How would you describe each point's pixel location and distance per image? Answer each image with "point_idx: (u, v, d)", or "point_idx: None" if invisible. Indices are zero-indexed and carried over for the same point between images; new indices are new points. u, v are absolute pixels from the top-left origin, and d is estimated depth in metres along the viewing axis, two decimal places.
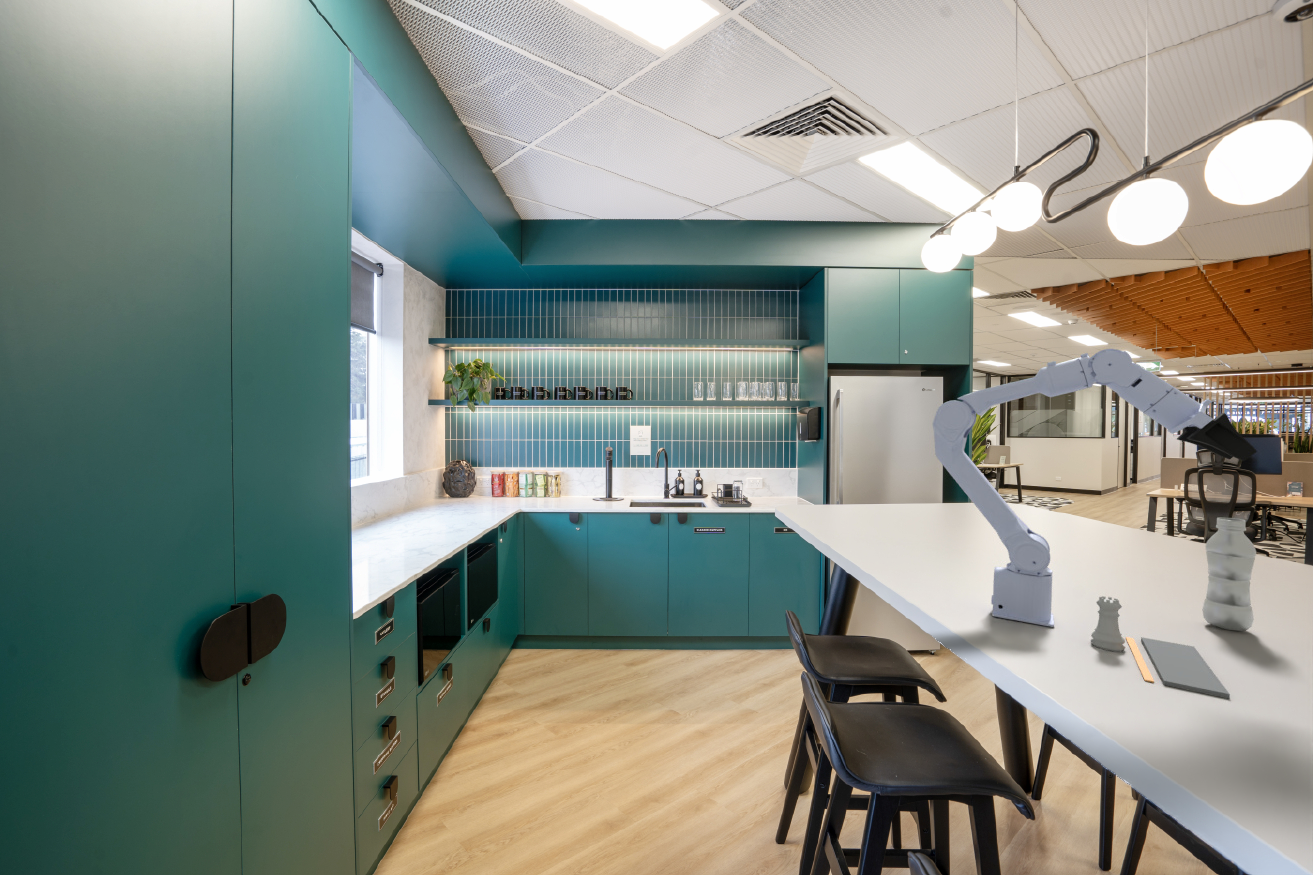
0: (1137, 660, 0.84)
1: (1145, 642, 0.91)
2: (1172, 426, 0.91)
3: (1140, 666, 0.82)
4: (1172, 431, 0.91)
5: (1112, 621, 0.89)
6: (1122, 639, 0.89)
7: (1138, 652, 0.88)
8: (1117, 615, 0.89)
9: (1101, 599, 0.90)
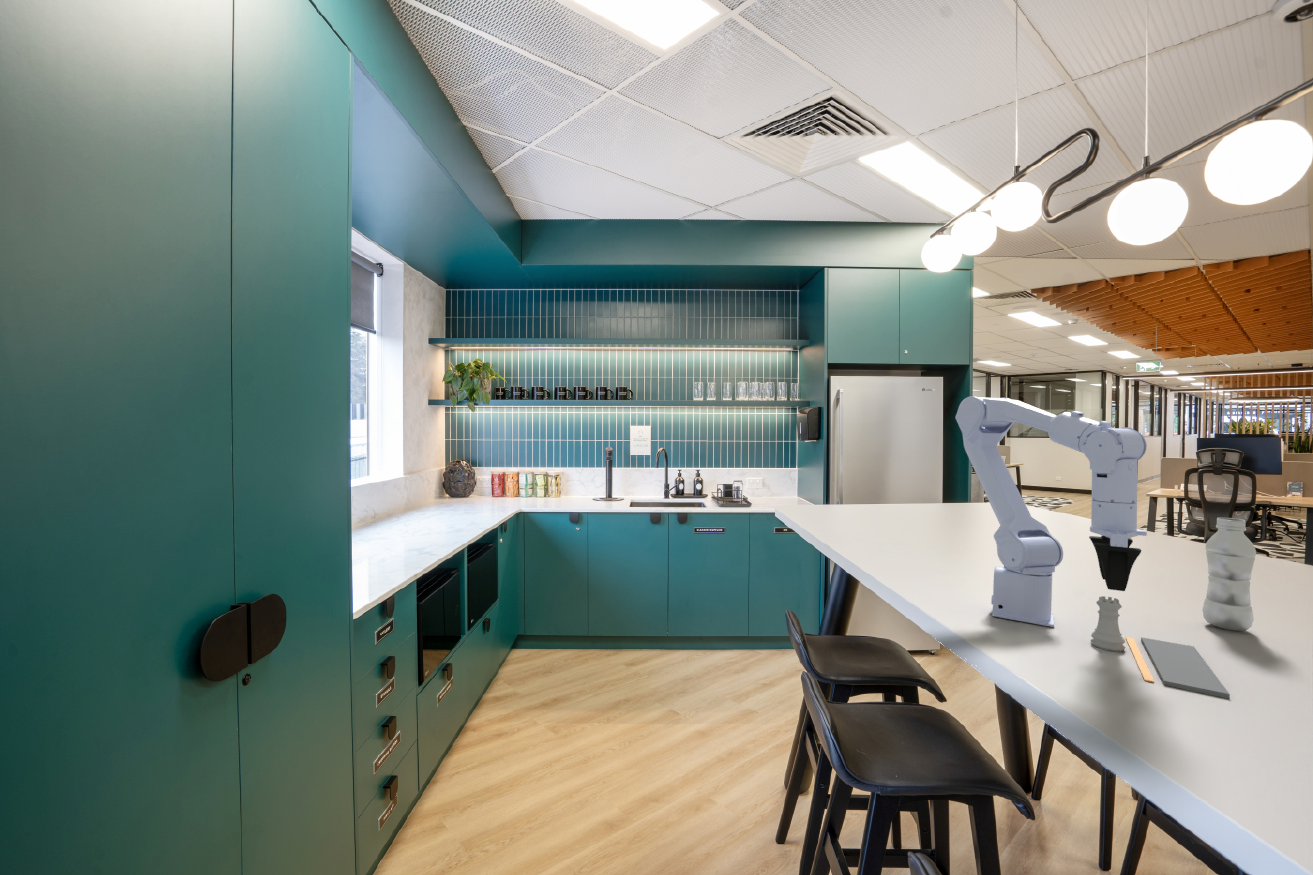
0: (1137, 660, 0.84)
1: (1145, 642, 0.91)
2: (1097, 526, 0.89)
3: (1140, 666, 0.82)
4: (1091, 529, 0.90)
5: (1112, 621, 0.89)
6: (1122, 639, 0.89)
7: (1138, 652, 0.88)
8: (1117, 615, 0.89)
9: (1101, 599, 0.90)
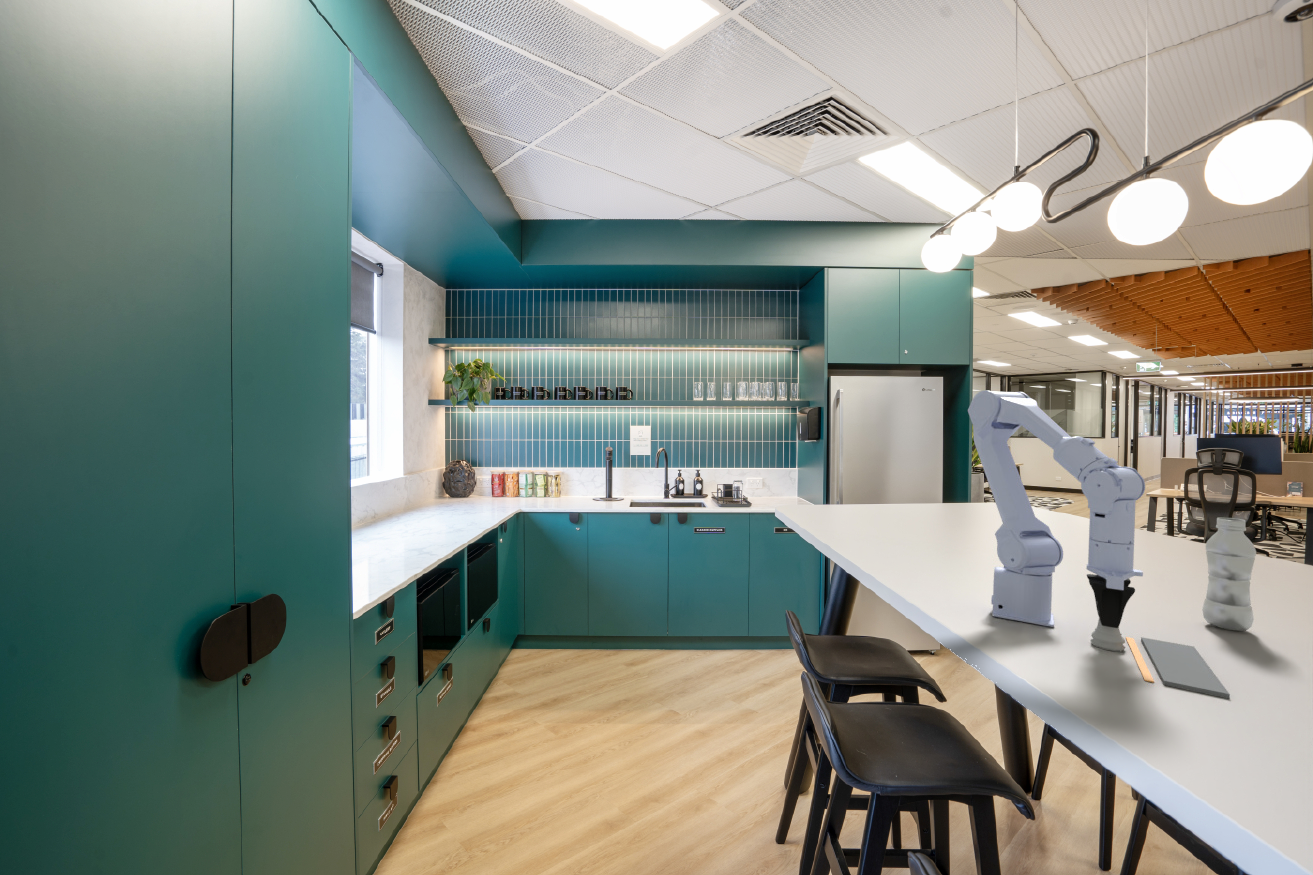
0: (1137, 660, 0.84)
1: (1145, 642, 0.91)
2: (1093, 565, 0.90)
3: (1140, 666, 0.82)
4: (1088, 568, 0.91)
5: None
6: (1122, 639, 0.89)
7: (1138, 652, 0.88)
8: None
9: None
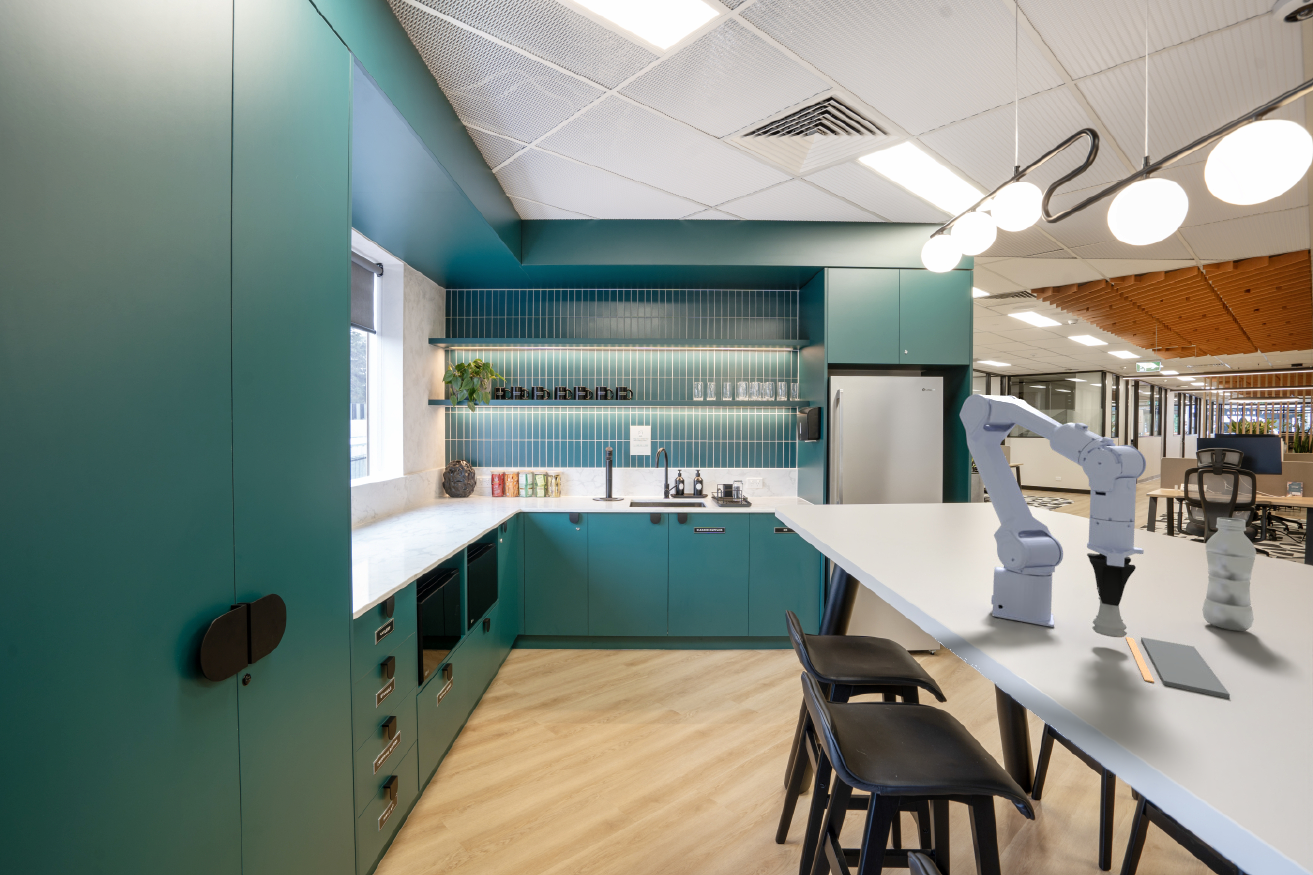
0: (1137, 660, 0.84)
1: (1145, 642, 0.91)
2: (1094, 544, 0.90)
3: (1140, 666, 0.82)
4: (1089, 546, 0.91)
5: (1113, 607, 0.89)
6: (1124, 625, 0.88)
7: (1138, 652, 0.88)
8: None
9: None
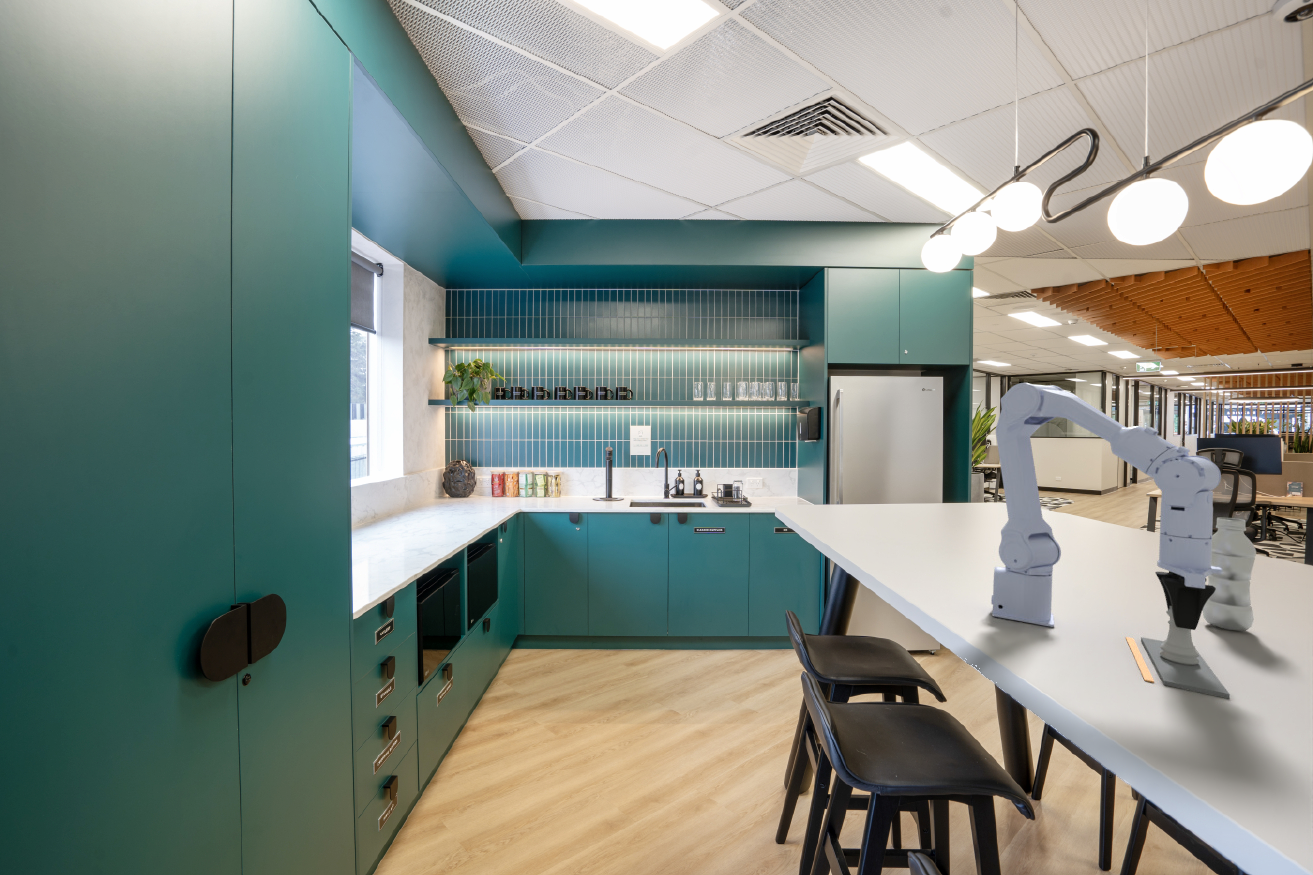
0: (1137, 660, 0.84)
1: (1145, 642, 0.91)
2: (1166, 562, 0.83)
3: (1140, 666, 0.82)
4: (1160, 565, 0.84)
5: (1185, 632, 0.83)
6: (1196, 652, 0.82)
7: (1138, 652, 0.88)
8: None
9: None
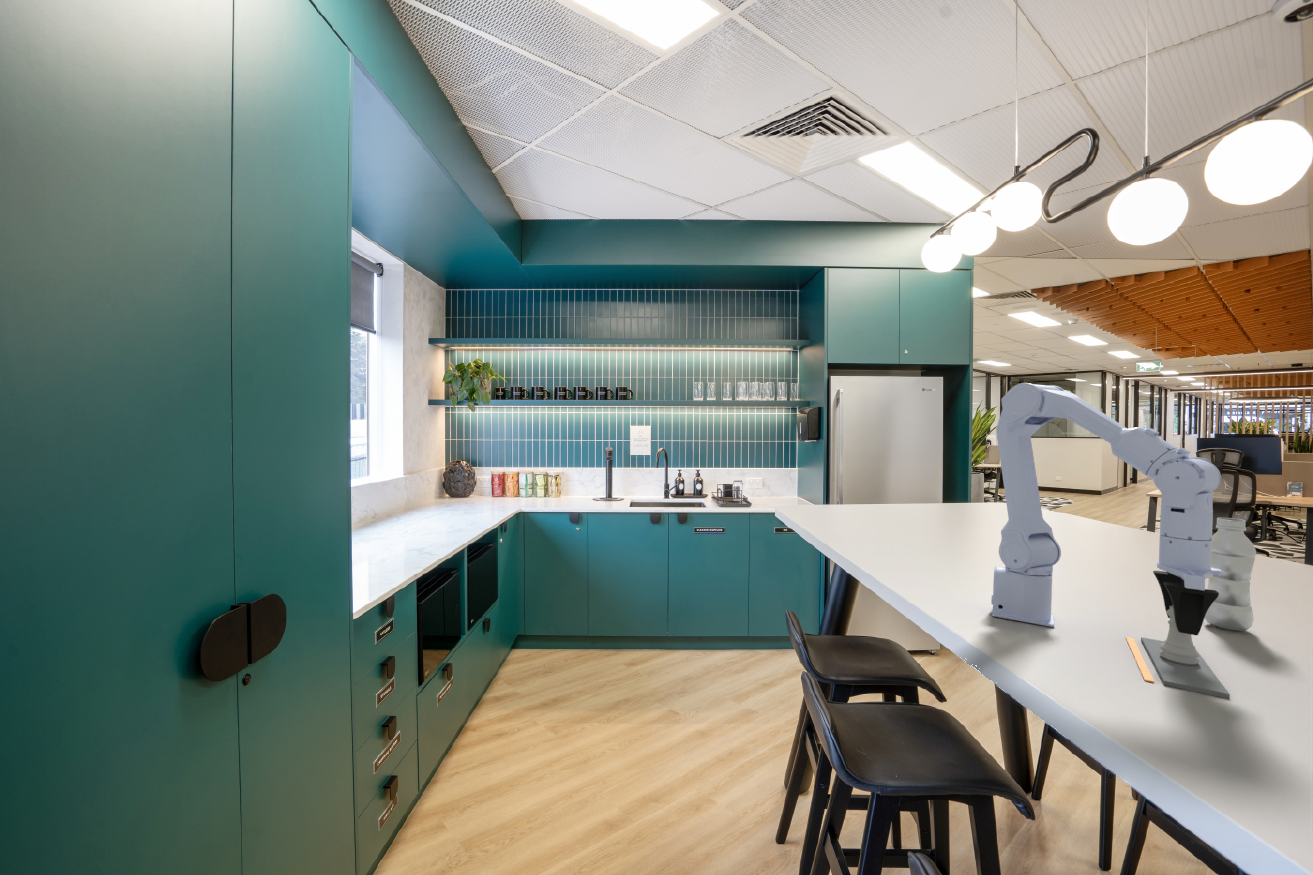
0: (1137, 660, 0.84)
1: (1145, 642, 0.91)
2: (1166, 564, 0.83)
3: (1140, 666, 0.82)
4: (1160, 566, 0.84)
5: None
6: (1196, 652, 0.82)
7: (1138, 652, 0.88)
8: None
9: (1172, 609, 0.84)
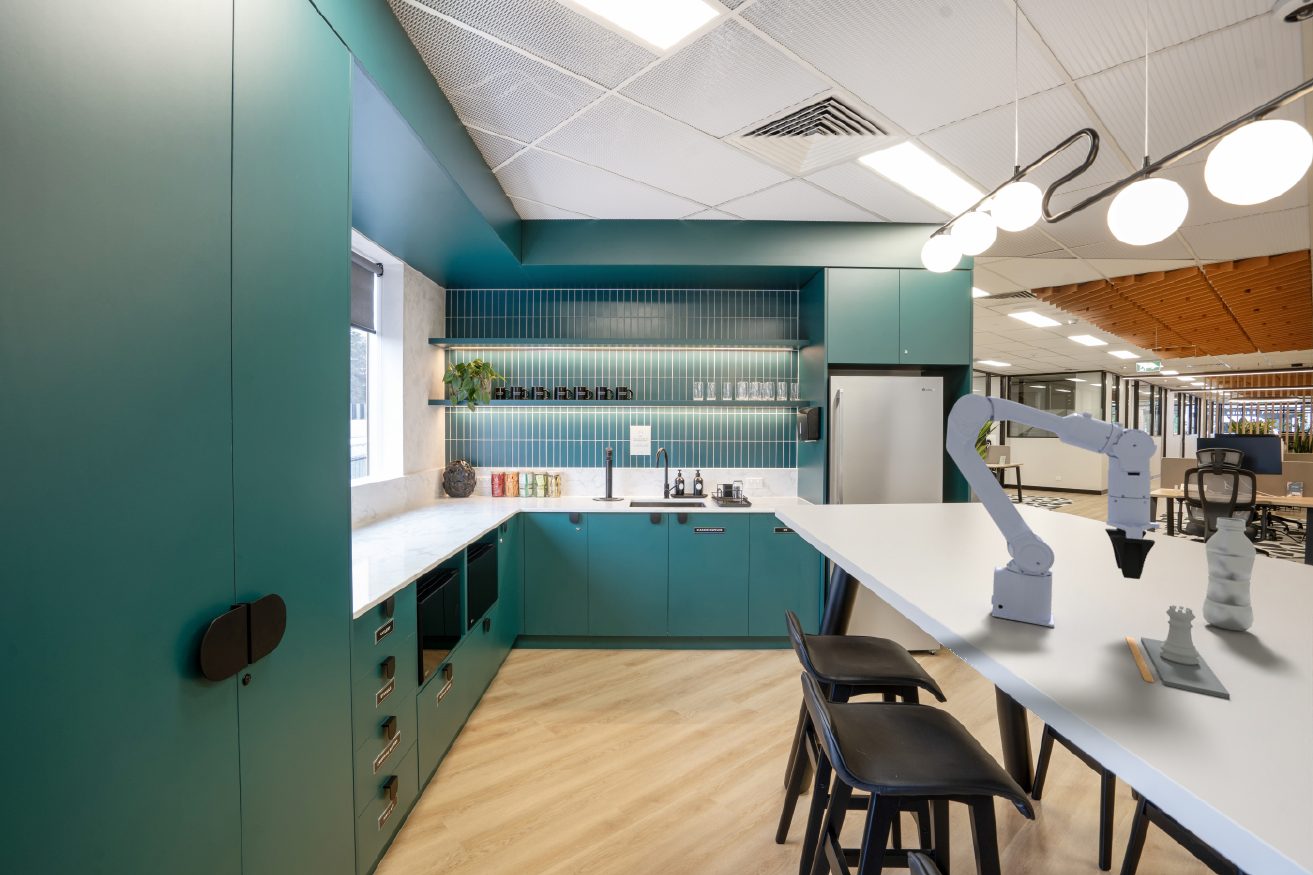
0: (1137, 660, 0.84)
1: (1145, 642, 0.91)
2: (1113, 520, 0.97)
3: (1140, 666, 0.82)
4: (1108, 523, 0.98)
5: (1185, 632, 0.83)
6: (1196, 652, 0.82)
7: (1138, 652, 0.88)
8: (1190, 626, 0.83)
9: (1172, 609, 0.84)
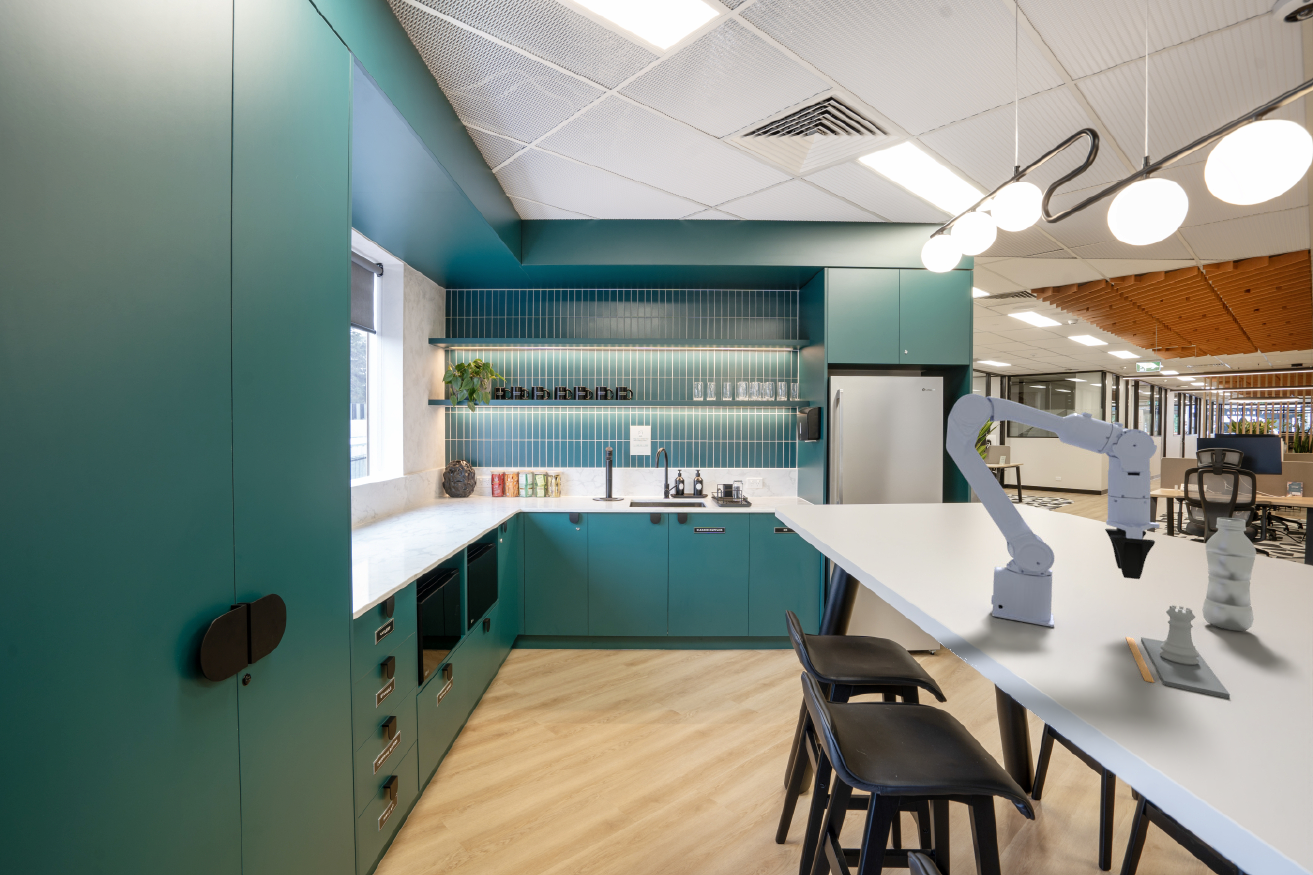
0: (1137, 660, 0.84)
1: (1145, 642, 0.91)
2: (1113, 520, 0.97)
3: (1140, 666, 0.82)
4: (1108, 523, 0.98)
5: (1185, 632, 0.83)
6: (1196, 652, 0.82)
7: (1138, 652, 0.88)
8: (1190, 626, 0.83)
9: (1172, 609, 0.84)
